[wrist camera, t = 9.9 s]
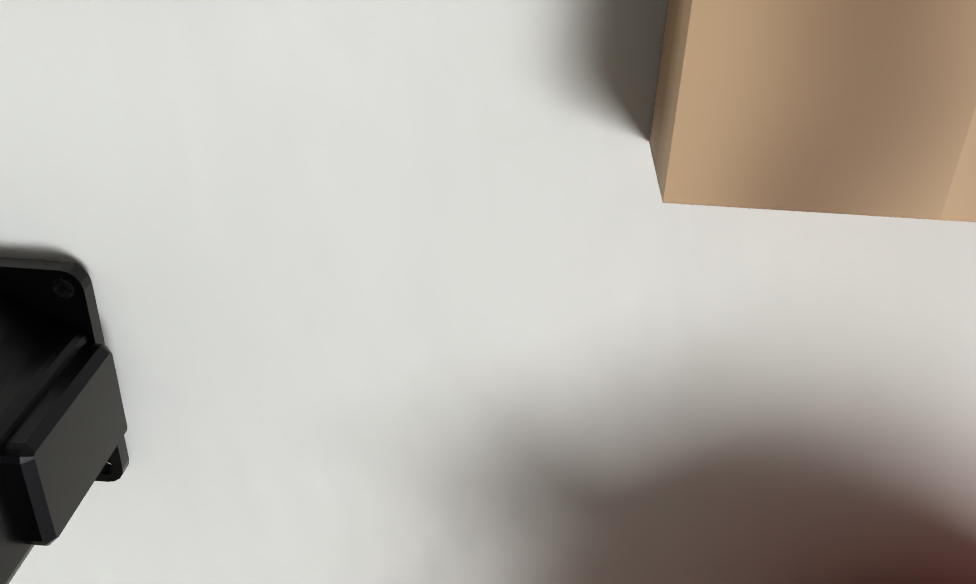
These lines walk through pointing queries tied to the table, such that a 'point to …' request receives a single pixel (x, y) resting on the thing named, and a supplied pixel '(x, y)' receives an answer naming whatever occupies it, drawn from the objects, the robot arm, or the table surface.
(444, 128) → the table surface
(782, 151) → the board
